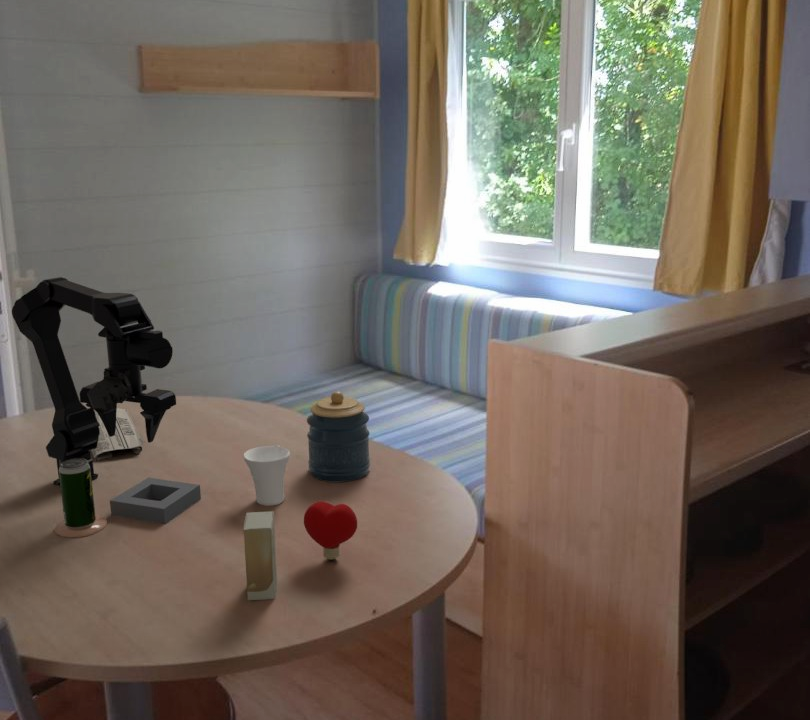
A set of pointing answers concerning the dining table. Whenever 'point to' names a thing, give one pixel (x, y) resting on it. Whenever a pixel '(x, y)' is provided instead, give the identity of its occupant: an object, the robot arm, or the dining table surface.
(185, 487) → the square frame
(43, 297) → the robot arm
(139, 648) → the dining table surface
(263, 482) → the cup
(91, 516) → the beer can
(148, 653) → the dining table surface
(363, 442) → the canister
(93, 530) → the coaster
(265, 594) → the skincare box
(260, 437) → the dining table surface
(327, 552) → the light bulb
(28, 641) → the dining table surface
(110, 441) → the newspaper
